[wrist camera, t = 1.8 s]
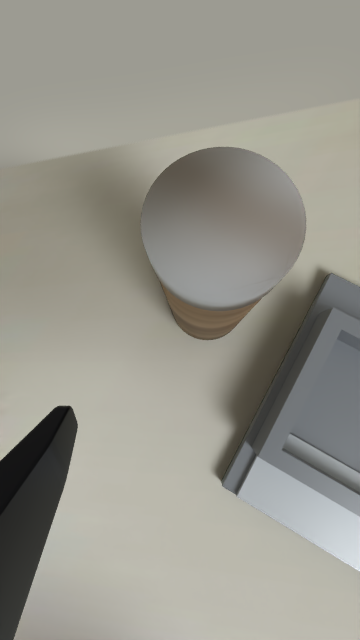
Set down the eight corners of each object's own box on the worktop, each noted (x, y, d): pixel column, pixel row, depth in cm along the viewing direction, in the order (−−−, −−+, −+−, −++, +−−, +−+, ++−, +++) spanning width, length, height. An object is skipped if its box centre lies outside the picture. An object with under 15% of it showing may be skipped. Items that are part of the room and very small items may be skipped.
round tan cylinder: (221, 353, 22) (258, 332, 9) (159, 319, 22) (110, 253, 10) (255, 291, 22) (334, 188, 10) (193, 259, 23) (190, 122, 10)
